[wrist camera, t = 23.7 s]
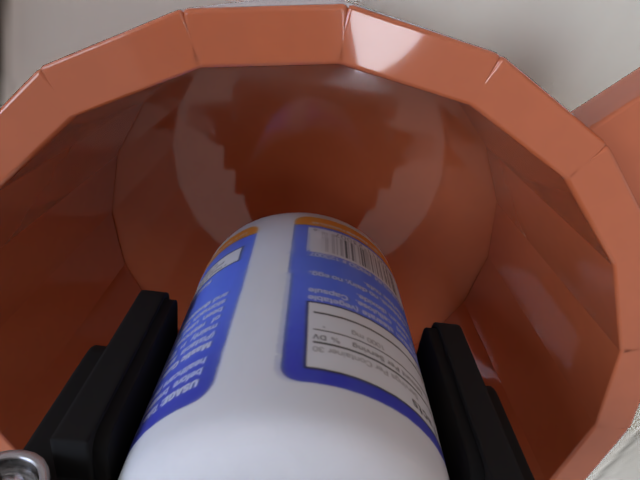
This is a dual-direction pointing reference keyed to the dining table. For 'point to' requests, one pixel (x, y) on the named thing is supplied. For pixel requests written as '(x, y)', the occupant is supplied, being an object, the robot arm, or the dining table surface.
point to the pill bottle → (291, 367)
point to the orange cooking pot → (330, 200)
